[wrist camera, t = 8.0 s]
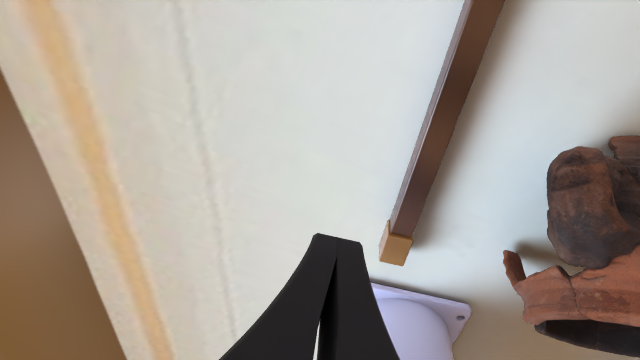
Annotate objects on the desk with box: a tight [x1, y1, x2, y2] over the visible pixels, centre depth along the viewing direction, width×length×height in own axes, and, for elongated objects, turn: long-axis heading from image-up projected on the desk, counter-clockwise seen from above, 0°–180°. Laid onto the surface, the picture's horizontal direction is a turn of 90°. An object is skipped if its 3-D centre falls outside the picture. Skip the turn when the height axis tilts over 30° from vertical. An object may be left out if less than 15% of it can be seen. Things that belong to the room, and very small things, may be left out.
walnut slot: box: [379, 0, 505, 266], centre depth 16 cm, size 20×18×1 cm
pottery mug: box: [503, 136, 640, 358], centre depth 17 cm, size 12×10×8 cm
